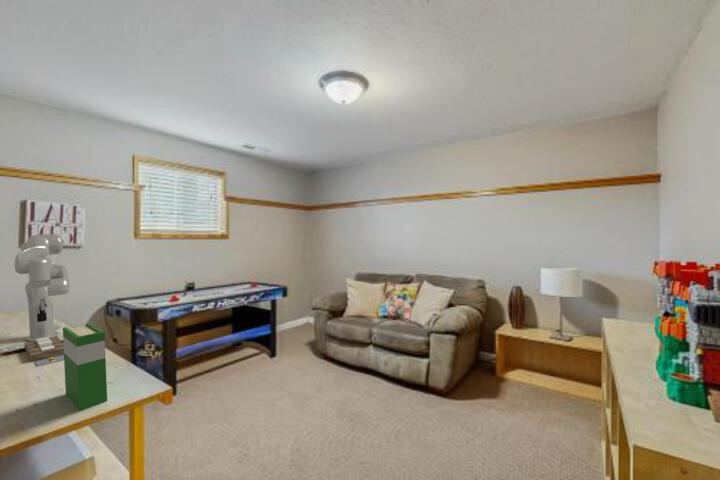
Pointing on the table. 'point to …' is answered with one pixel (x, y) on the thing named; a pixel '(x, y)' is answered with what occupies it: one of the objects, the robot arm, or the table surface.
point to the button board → (37, 354)
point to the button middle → (44, 343)
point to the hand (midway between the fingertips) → (42, 321)
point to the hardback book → (85, 365)
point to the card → (49, 360)
